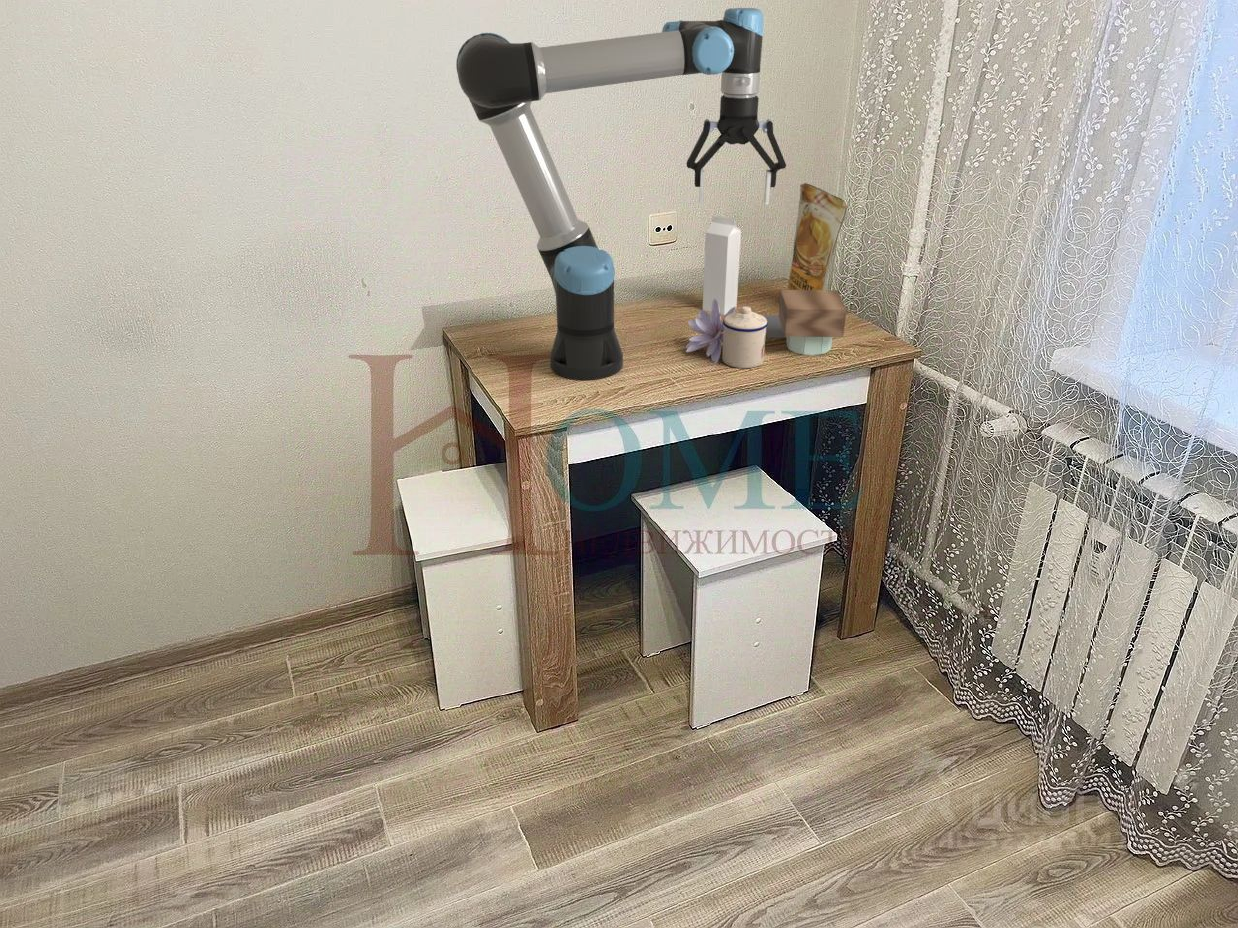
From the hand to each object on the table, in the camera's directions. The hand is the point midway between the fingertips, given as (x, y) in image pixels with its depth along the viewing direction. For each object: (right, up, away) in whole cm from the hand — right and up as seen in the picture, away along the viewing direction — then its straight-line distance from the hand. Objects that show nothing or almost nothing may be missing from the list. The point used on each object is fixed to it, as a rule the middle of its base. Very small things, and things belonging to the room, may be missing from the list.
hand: (733, 203), depth 195 cm
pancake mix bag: (+20, -19, +26) cm, 38 cm away
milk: (0, -18, +26) cm, 32 cm away
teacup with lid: (+1, -33, +1) cm, 33 cm away
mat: (+9, -24, +16) cm, 30 cm away
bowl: (+17, -30, +6) cm, 35 cm away
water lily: (-5, -31, +4) cm, 32 cm away
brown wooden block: (+17, -25, +3) cm, 31 cm away
